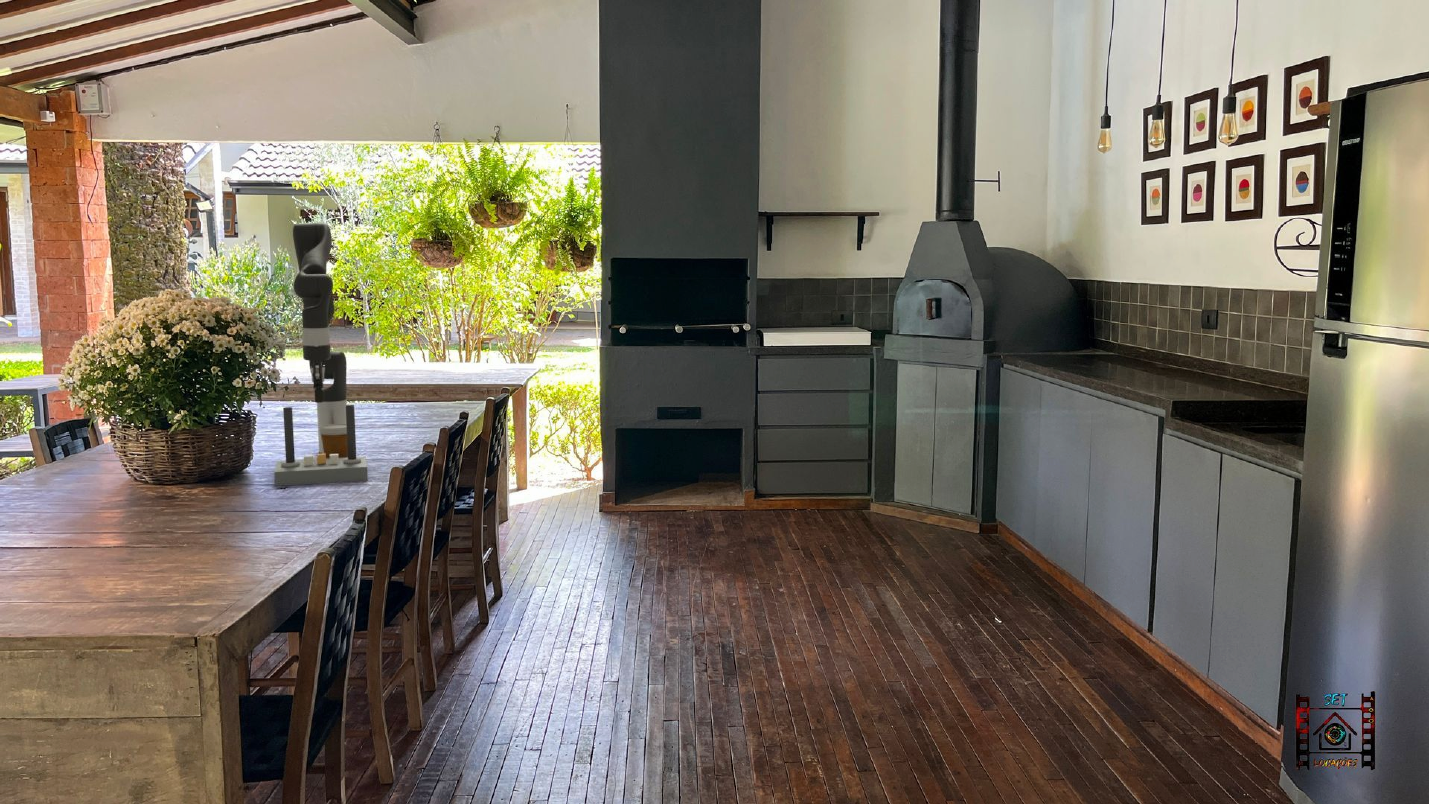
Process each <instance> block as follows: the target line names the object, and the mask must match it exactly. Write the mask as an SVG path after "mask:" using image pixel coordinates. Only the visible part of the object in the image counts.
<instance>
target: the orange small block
mask: <svg viewBox="0 0 1429 804" xmlns="http://www.w3.org/2000/svg"><path fill="white" fill-rule="evenodd" d="M316 459H317V464H323V463H326V453H325V454H324V453H316Z"/></svg>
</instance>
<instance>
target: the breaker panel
mask: <svg viewBox="0 0 1429 804" xmlns="http://www.w3.org/2000/svg"><path fill="white" fill-rule="evenodd" d="M357 457H358V458H361V462H360V463H357V464H345V463H343V459H345V458H339V457H338V454H330V458H327V459H326V463H323V464H317V458H314V454H310V455H308V454H307V455H304V456H303V459H295V461H300V466H297V467H281V462H284V461H285V460H277V461H276V465H275V468H274V472H273V474H274V475H273V476H274V487H278V486H279V487H281V486H294V485H295V486H296V485H310V484H311V485H313V484H329V483H345V482H362V481H365V482H366V481H368V462H367V456H357ZM346 458H348V457H346Z"/></svg>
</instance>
